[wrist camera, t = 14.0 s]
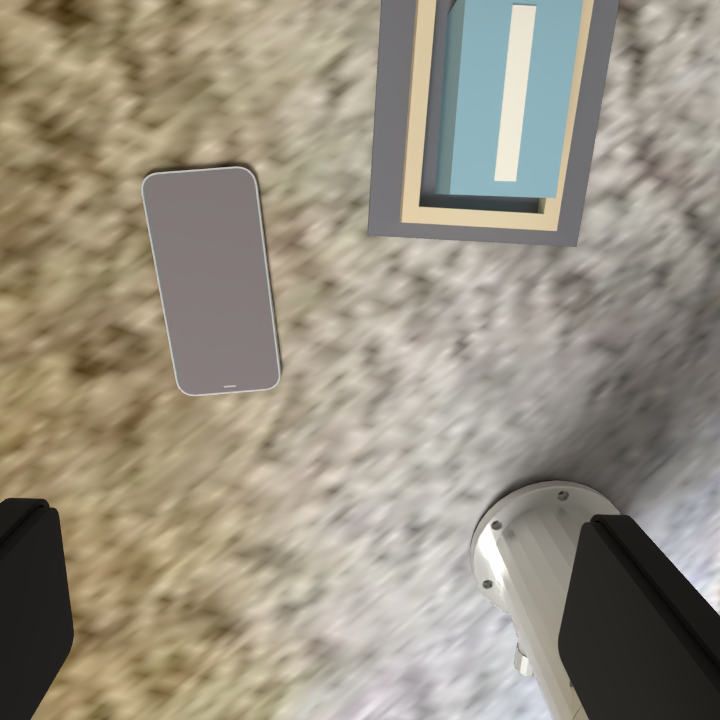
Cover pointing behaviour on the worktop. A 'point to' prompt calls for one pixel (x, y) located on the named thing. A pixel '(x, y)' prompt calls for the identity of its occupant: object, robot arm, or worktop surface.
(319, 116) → the worktop surface
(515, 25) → the card box
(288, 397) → the worktop surface
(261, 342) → the smartphone
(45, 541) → the robot arm
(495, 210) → the mat
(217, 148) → the worktop surface
